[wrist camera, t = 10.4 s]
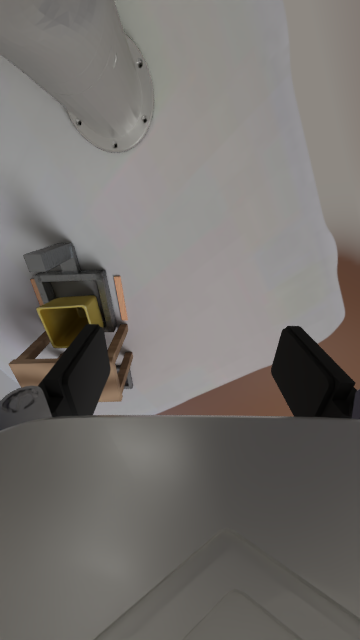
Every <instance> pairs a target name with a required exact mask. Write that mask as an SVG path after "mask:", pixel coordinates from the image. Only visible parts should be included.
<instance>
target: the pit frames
mask: <svg viewBox="0 0 360 640" xmlns="http://www.w3.org/2000/svg"><path fill="white" fill-rule="evenodd" d="M120 367H121V366H116V370H117V374H118V372H119V369H120ZM132 388H133V383H132V377H131V372H130V369H129V372H128V376H127V379H126V382H125V386H124V389H132Z"/></svg>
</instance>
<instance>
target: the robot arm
mask: <svg viewBox="0 0 360 640" xmlns="http://www.w3.org/2000/svg"><path fill="white" fill-rule="evenodd" d="M0 55H1V56H3V57H4V58H6V59H7V60H8V61H10V62H11V63H12V64H13V65H15V66H16V67H17V68H18V69H20V70H21V71H22V72H23V73H25V74H26V75H27V76H28V77H29V78H31V79H32V80H33V81H34V82H35V83H36V84H37V85H39V86H40V87H41V88H42V89H43V90H45V91H46V92H47V93H48V94H50V95H51V96H52V97H53V98H54V99H56V100H57V101H58V102H59V103H60V104H62V105H63V106H64V107H65V108H66V110H67V112H68V114H69V116H70V119H71V120H72V122H73V124H74V125H75V127H76V129H77V130H78V131H79V132H80V133H81V135H82V136H83V137H84V138H85V139H86V140H88V141H89V142H90V143H91V144H93V145H94V146H95V147H97V148H99V149H101V150H103V151H107V152H111V153H120V152H125V151H128V150H130V149H132V148H134V147H135V146H136V145H137V144H138V143H140V141H141V140H142V139H143V138H144V136H145V135H146V133H147V131H148V129H149V127H150V123H151V120H152V117H153V110H154V91H153V84H152V79H151V75H150V72H149V69H148V66H147V63H146V61H145V59H144V57H143V55H142V53H141V51H140V50H139V48H138V47H137V46H136V44H135V43H134V42H133V40H132V39H131V38H129V37H128V36H127V35H126V34H125V33H124V30H123V27H122V24H121V21H120V18H119V14H118V11H117V8H116V5H115V2H114V0H0ZM139 65H142V68H139ZM144 119H146V120H147V122H146V123H144ZM80 122H82V123H81V125H80V124H79V123H80ZM116 144H117V148H115V145H116ZM110 370H111V367H110V361H109V356H108V351H107V346H106V340H105V335H104V330H103V327H100V326H99V324H86V325H85V326H84V328H83V329H82V330H81V331H80V333H79V334H78V335H77V337H76V338H75V339H74V340H73V342H72V343H71V344H70V345H69V347H68V348H67V349H66V351H65V352H64V353H63V354H62V356H61V357H60V358H59V359H58V361H57V362H56V363H55V365H54V366H53V367H52V368H51V370H50V371H49V372H48V373H47V375H46V376H45V377H44V379H43V380H42V381H41V382H40V384H39V385H38V386H25V387H22V388H18V389H16V390H14V391H12V392H10V393H9V394H8V395H6V396H5V397H4V398H3V399H2V400H1V401H0V640H360V389H359V390H356V389H355V388H354V385H355V382H354V381H353V380H352V379H351V378H350V377H349V376H348V375H347V374H346V373H345V372H344V371H343V370H342V369H341V368H340V367H339V366H338V365H337V364H336V363H335V362H334V361H333V359H332V358H331V357H330V356H329V355H328V354H326V352H325V351H324V350H323V349H322V348H321V347H320V346H319V345H318V344H317V343H316V342H315V341H314V340H313V339H312V338H311V337H310V336H309V335H308V334H307V333H306V332H305V331H304V330H303V329H302V328H301V327H300V326H287V327H286V328H285V329H283V330H282V333H281V336H280V340H279V343H278V347H277V350H276V354H275V357H274V361H273V364H272V368H271V373H272V376H273V378H274V380H275V382H276V383H277V385H278V387H279V389H280V391H281V393H282V395H283V396H284V398H285V400H286V402H287V404H288V406H289V408H290V410H291V411H292V413H293V415H294V417H279V416H278V417H277V416H275V417H274V416H188V415H186V416H184V415H183V416H182V415H179V416H178V415H93V413H94V411H95V408H96V406H97V403H98V401H99V399H100V396H101V394H102V391H103V389H104V387H105V384H106V382H107V379H108V377H109V375H110Z"/></svg>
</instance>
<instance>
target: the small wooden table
mask: <svg viewBox="0 0 360 640" xmlns="http://www.w3.org/2000/svg"><path fill="white" fill-rule="evenodd" d="M127 332H128V326H127V324H120V326H119V328H118V330H117V332H116V334H115V336H114V338H113V340H112V342H111V344H110V346H109V348H108V350H107V351H108V356H109V361H110V367H111V370H110V375H109V377H108V379H107V382H106V384H105V387H104V389H103V391H102V394H101V396H100V399H99V401H98V402H115V401H121V400H122V397H123V396H122V392H123V389H124V386H125V382H126V379H127V376H128V372H129V369H130V366H131V362H132V359H133V355H132V352H126V353H125V355H124V358H123V361H122V364H121V367H120V369H119V372H118V374H117V370H116V366H115V362H116V359H117V357H118V354H119V352H120V349H121V347H122V344H123V342H124V339H125V337H126V334H127ZM50 342H51V341H50V339H49V337H48V335H47V332H46V331H45V332H44V333H43V334H42V335H41V336H40V337H39V338H38V339H37V340H36V341H35V342H34V343H33V344H31V345H30V346H29V347H28V348H27V349H26V350H25V351H24V352H23V353H22V354H21V355H20V356H19V357H18V358H17V359H16V360H12V361H11V362H10V363H9V366H10V368H11V370H12V371H13V373H14V375H15V377H16V379H17V381H18V382H19V384H20V386H21V388H22V387H25V386H38V385H39V384H40V382H41V381H42V380H43V379H44V377H45V376H46V375H47V373H48V372H49V371H50V370H51V368H52V367H53V366H54V365H55V363H56V362H57V361H58V359H59V358H60V357H61V356H62V354H61V355H60V356H59V357H58V359H35V358H36V357H37V356H38V355H39V354H40V353H41V352H42V350H43V349H44V348H45V347H46V346H47V345H48V344H49V343H50Z"/></svg>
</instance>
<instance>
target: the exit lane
mask: <svg viewBox="0 0 360 640" xmlns="http://www.w3.org/2000/svg"><path fill="white" fill-rule="evenodd" d="M30 280H31V283H32V286H33V288H34V291H35V293H36V296H37V299H38V301H39V304H40V306H42V305H44V304H43V301H42V298H41V296H40V293H39V290H38V288H37V285H36V282H35V280H34V279H30ZM114 280H115V285H116V291H117V296H118V301H119V307H120V312H121V318H122V320H128V319H127V313H126V307H125V301H124V295H123V289H122V284H121V278H120V276H114Z"/></svg>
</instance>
